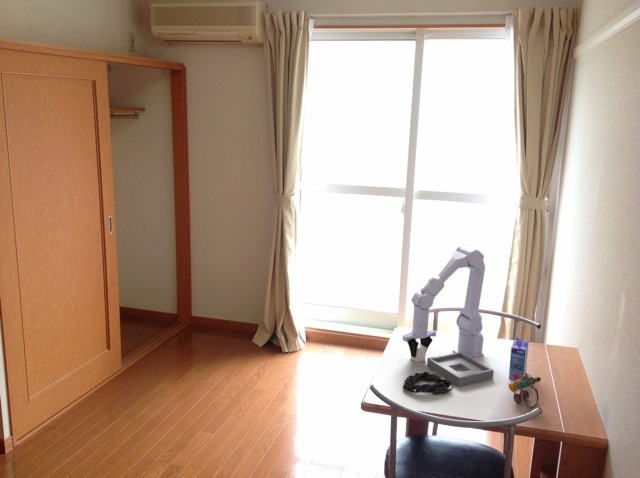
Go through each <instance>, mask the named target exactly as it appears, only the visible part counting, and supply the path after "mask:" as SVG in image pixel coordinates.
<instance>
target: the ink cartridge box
mask: <svg viewBox="0 0 640 478" xmlns="http://www.w3.org/2000/svg"><path fill="white" fill-rule="evenodd" d="M529 343H530V342H529V340H528V341H527V340H521V339H520V338H519V336H516V338H514V340H513V342H512V344H511V348H510V361H509V370H508V371H509V372H508V373H509V374H508V379H510V380H515V381H516V380H520V379H523V376H526V372H527V365H528V354H529Z"/></svg>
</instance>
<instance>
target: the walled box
mask: <svg viewBox="0 0 640 478" xmlns="http://www.w3.org/2000/svg"><path fill="white" fill-rule="evenodd" d="M426 368H428V369H430V370H431V371H432V372H434V373H435V374H436V375H437V374H438V376H440V377H441V378H444V379H447V380H449V381H451V382H452V385H454V386H457V387H458V388H461V387H464V386H469V385H473V384H478V383H482V382H485V381H490V380H491V381H492V380H494V371H495V370H494V369H492V368H490V367H489V366H488V365H485V364H484V363H481V362H480V361H478V360H476V359H475V358H474V357H469V356H467V355H465V354H464V353H462V352H457V353H455V352H451V353H447V354H442V355H438V356H432V357H427V359H426ZM457 370H462V371H457Z"/></svg>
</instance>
